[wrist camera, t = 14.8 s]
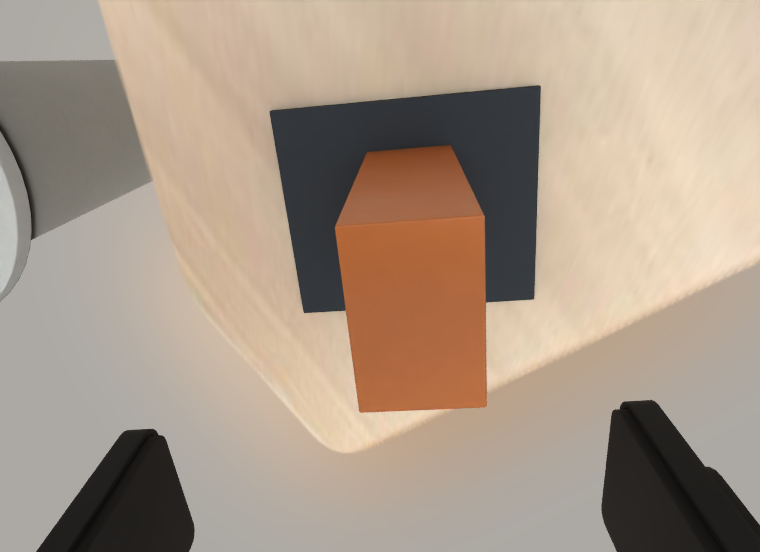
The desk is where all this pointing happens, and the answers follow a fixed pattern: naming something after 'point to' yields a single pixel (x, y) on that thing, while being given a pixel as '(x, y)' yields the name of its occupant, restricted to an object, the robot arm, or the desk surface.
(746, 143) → the desk surface
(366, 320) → the block
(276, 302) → the desk surface
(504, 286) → the mat
